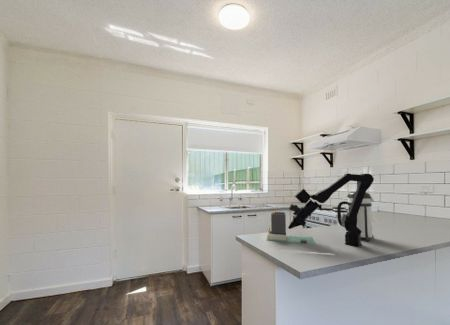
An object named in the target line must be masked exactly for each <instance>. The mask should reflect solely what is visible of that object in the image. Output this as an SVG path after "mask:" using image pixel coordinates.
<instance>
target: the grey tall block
mask: <svg viewBox="0 0 450 325" xmlns="http://www.w3.org/2000/svg"><path fill="white" fill-rule="evenodd" d="M270 214H271V217H270V221H271V222H270V223H271V224H270V225H271V226H270V229H271V230H270V231H271V234H282V235H286V236H287V226H286V225H287V224H286V222H287V220H286V213H285V211H274V210H273V211H271V213H270Z"/></svg>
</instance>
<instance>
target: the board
mask: <svg viewBox="0 0 450 325" xmlns="http://www.w3.org/2000/svg"><path fill="white" fill-rule="evenodd" d="M270 229H271V226H270V227H268V229H267V231H268V232H267V235H266V241H267V242H281V243H293V244H294V243H296V244H309V245H316V244H317V243H316V242H315V240H314V238H313V236H301V235H300V236H299V235H298V236H297V235H287V234H286V235H282V234H271V230H270Z"/></svg>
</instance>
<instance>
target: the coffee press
mask: <svg viewBox="0 0 450 325" xmlns="http://www.w3.org/2000/svg"><path fill="white" fill-rule="evenodd" d="M355 193H356V191H349V192H348V194H347V195H346V198H347V201H340V202H339V203H338V204H337V207H336V208H337V212H336V214H337V222H338V225H339V226H341V227H343V226H342V221H341V219H342V212H341V211H342V210H341V209H342V206H343V205H347V213H348V212H349V209H350V206H351V204H352V201H353V198H354V195H355ZM373 203H375V200H374V199H373V198H372V196H371V194H370V193H369V192H367V191H366V193H365V195H364V198H363V201H362V204H361V206H360V209H359V212H358V214H357V226H356V227H358V228H359V229H360V230H361V231H362V232H361V238H363V239H364V241H365V242H369V241H370V239H374V238H375V236H374V234H373V221H372V220H373V219H372V204H373Z"/></svg>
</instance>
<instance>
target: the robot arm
mask: <svg viewBox="0 0 450 325" xmlns="http://www.w3.org/2000/svg"><path fill="white" fill-rule="evenodd" d="M374 180H375V179H374V176H373V175H372V174H371V173H361V174H357V173H356V174H355V173H345V174H343V175H342V176H341V177H339V179H337V180H336V181H335V182H333V183H332V184H331V185H329V186H328V187H326V188H324V189H322V190H320V191H318V192H316V193H315V194H310V193H309V192H308V191H306V189H305V188H302V189H301V190H300V191H298V192H297V193H296V194H295V195H294V197H295V198H296V199H297V201H299V202H300V203H301V204H304V205H303V206H301V207H299V206H298V205H297V204H293V203H291V204H290V205H289V208H288V209H289V210H290V211H293V213H292V214H293V215H292V220H291V222H290V223H289V226H288V227H287V229H289V230H290V229H294V228H296V227H299V226H302V228H303V227H305V226H306V225H307V222H306V221H307V219H308V218H309V217H311V216H312V214H313V213H314V212H315V211H316V210H318V209H319V210H320V211H322V207H323V206H322V204H324V203H326V202H327V201H328V200H329V199H330V198H331V196H332V195H333V194H335V193H336V192H337V191H339V189H341V188H342V187H343V186H346V184H348V183H349V182H356V190H355V192H356V193H355V195H354V198H353V201H352V204H351V206H350V209H349V212H348V211H347V213H346V214H344V213H343V214H342V217H341V222H342V226H341V227H343V228H344V229H345V230H346V232H345V234H344V240H345V242H344V245H348V246H352V247H353V246H354V247H361V246H362V245H363V243H362V242H361V238H362V237H361V232H362V231H361V230H360V229H359V228H358V227H356V226H357V214H358V212H359V209H360V206H361V204H362V201H363V198H364V195H365V193H366V192H367V191H368V190H369V188H370V187H371V185H372V184H373V183H374ZM319 203H320V204H319Z"/></svg>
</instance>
